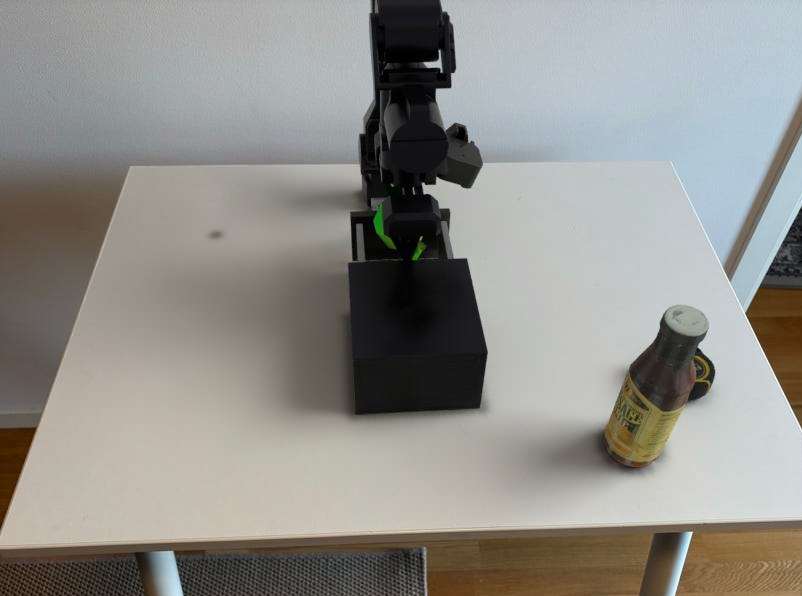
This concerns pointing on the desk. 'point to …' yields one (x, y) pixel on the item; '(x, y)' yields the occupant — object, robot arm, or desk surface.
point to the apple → (388, 241)
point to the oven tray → (374, 248)
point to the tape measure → (702, 375)
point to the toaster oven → (415, 336)
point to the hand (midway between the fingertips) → (404, 238)
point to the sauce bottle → (656, 389)
